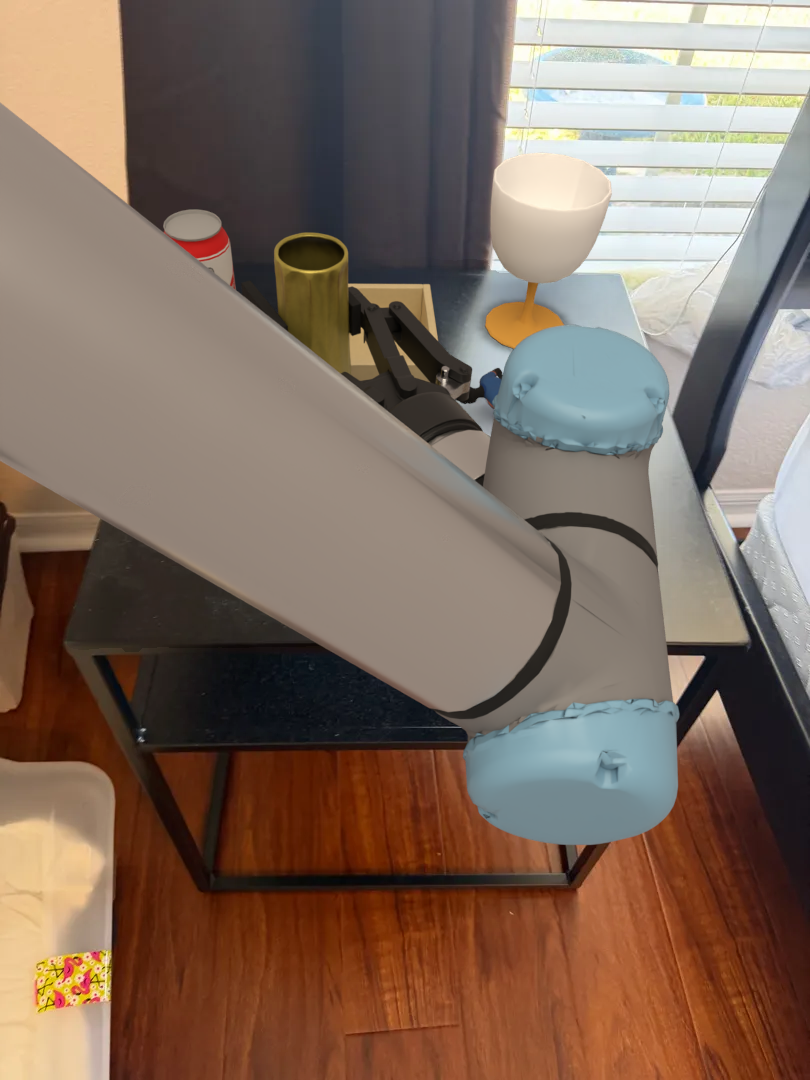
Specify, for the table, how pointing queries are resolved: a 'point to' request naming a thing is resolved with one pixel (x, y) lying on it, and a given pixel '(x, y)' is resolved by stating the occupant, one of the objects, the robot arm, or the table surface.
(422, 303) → the open wooden box
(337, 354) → the vase
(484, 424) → the table surface
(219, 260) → the beer can
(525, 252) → the cup
